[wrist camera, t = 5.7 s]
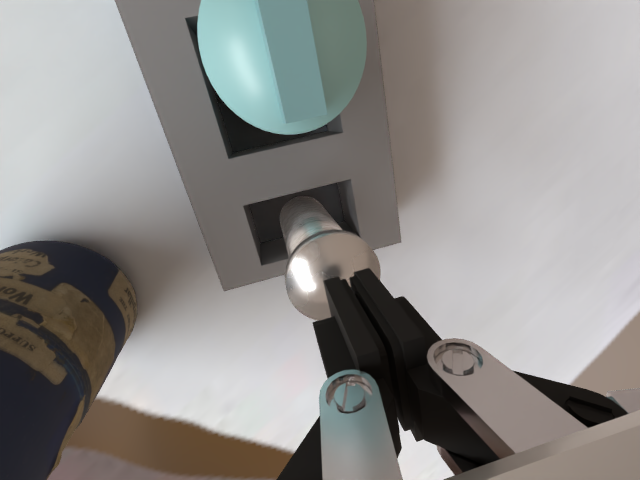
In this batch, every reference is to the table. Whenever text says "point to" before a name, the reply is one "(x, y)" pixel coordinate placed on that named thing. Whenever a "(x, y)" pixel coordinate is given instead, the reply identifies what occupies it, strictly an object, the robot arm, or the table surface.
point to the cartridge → (283, 59)
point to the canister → (54, 347)
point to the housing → (266, 161)
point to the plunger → (319, 254)
